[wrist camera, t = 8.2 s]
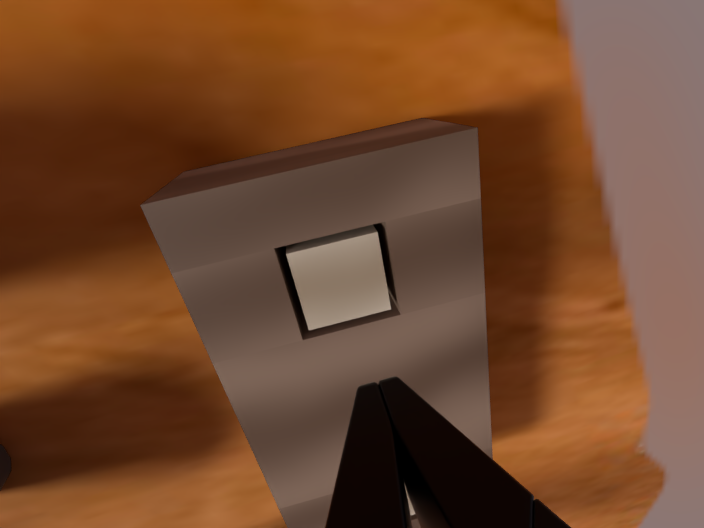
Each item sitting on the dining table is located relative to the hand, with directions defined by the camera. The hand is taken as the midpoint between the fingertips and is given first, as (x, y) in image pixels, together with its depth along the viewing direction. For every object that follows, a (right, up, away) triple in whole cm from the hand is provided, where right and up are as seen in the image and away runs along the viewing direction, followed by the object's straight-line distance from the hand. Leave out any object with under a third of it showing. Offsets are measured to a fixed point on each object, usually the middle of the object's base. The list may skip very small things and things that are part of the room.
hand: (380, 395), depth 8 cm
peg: (-2, +4, +9) cm, 10 cm away
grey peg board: (-1, -1, +12) cm, 12 cm away
